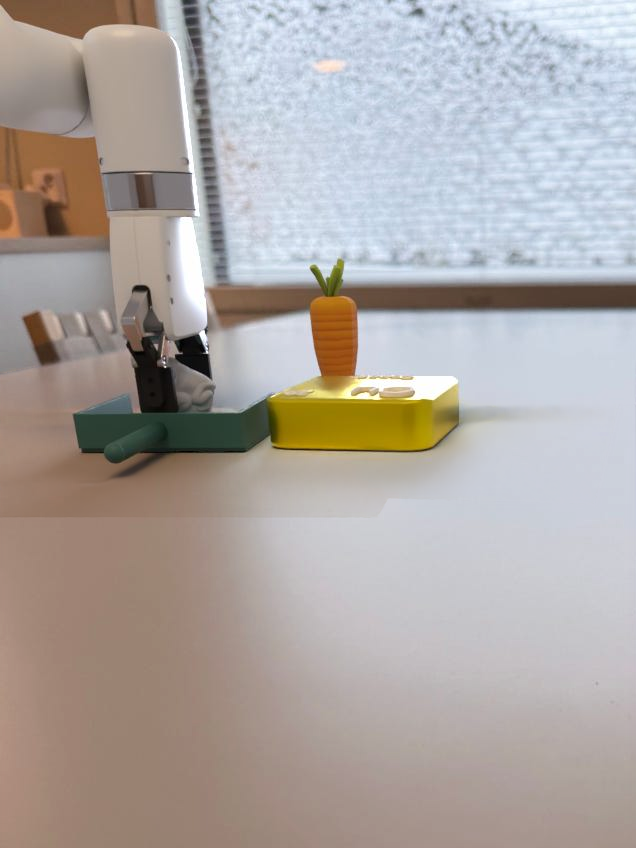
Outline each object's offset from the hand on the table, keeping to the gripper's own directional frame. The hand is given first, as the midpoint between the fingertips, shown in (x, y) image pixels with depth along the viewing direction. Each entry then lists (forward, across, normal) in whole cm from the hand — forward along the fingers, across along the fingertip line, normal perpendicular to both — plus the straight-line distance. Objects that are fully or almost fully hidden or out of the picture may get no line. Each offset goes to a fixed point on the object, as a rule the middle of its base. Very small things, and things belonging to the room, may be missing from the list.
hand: (179, 405), depth 88 cm
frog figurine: (+3, 0, 0) cm, 3 cm away
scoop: (+3, +5, 0) cm, 6 cm away
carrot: (+3, -18, +11) cm, 21 cm away
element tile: (+3, -2, +17) cm, 18 cm away
